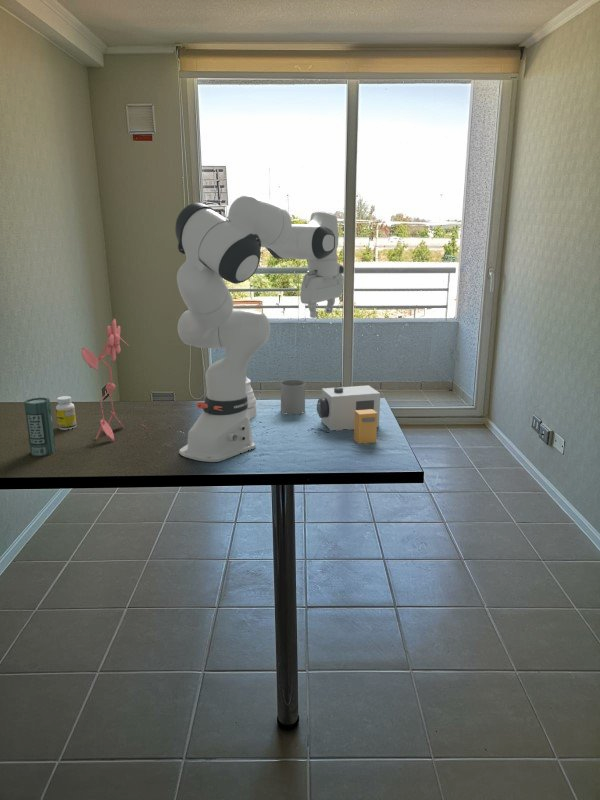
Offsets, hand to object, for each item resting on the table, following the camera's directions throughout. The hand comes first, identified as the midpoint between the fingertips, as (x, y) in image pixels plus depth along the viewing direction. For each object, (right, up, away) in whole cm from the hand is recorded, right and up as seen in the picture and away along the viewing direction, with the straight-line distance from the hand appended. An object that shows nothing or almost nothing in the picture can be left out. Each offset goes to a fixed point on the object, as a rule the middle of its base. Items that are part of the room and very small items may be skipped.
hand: (321, 315), depth 182 cm
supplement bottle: (-80, -35, +5) cm, 87 cm away
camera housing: (+8, -34, +9) cm, 36 cm away
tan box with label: (+13, -38, -6) cm, 40 cm away
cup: (-9, -30, +23) cm, 39 cm away
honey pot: (-28, -31, +19) cm, 45 cm away
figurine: (-60, -37, -1) cm, 71 cm away
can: (-78, -41, -15) cm, 90 cm away
